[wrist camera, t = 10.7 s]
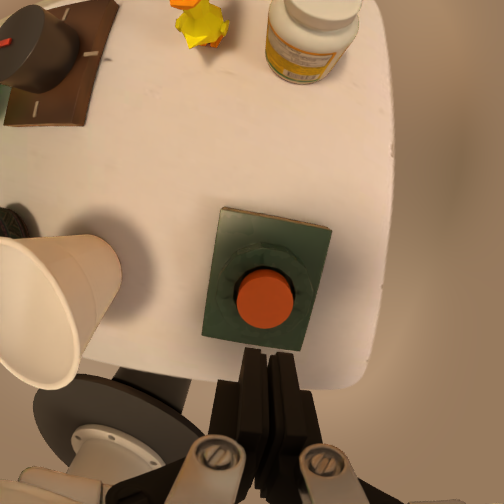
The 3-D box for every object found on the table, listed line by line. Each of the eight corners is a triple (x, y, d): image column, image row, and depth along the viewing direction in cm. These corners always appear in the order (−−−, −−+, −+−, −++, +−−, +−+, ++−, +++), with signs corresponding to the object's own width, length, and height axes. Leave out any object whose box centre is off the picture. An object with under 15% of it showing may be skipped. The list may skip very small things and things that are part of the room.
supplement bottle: (292, 97, 21) (317, 48, 11) (250, 47, 20) (248, -22, 10) (346, 66, 20) (394, 12, 11) (305, 18, 19) (328, -51, 10)
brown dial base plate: (92, 126, 21) (79, 123, 19) (10, 127, 21) (-4, 125, 19) (128, 5, 18) (119, -6, 16) (41, 20, 18) (30, 13, 16)
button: (284, 320, 22) (286, 332, 20) (234, 312, 21) (232, 323, 20) (295, 273, 21) (299, 282, 19) (243, 264, 21) (242, 272, 19)
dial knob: (89, 22, 17) (55, -6, 11) (67, 91, 18) (23, 76, 13) (36, 32, 17) (-1, 13, 11) (16, 96, 18) (-27, 86, 13)
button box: (297, 341, 25) (303, 364, 22) (204, 326, 25) (197, 347, 22) (327, 226, 23) (339, 235, 20) (223, 206, 23) (217, 211, 19)
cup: (36, 266, 24) (-42, 308, 13) (86, 187, 22) (-7, 199, 12) (105, 339, 26) (47, 411, 15) (167, 270, 24) (109, 336, 13)
